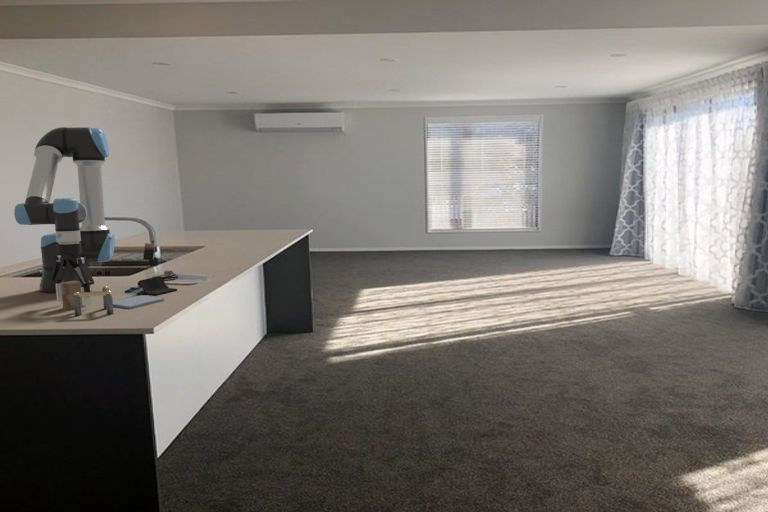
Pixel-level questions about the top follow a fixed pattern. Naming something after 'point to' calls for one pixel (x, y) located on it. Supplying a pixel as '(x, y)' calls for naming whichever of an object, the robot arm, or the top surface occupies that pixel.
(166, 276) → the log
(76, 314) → the grey and gold frame
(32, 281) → the top surface
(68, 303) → the walnut block
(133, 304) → the pad
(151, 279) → the handheld gaming console
